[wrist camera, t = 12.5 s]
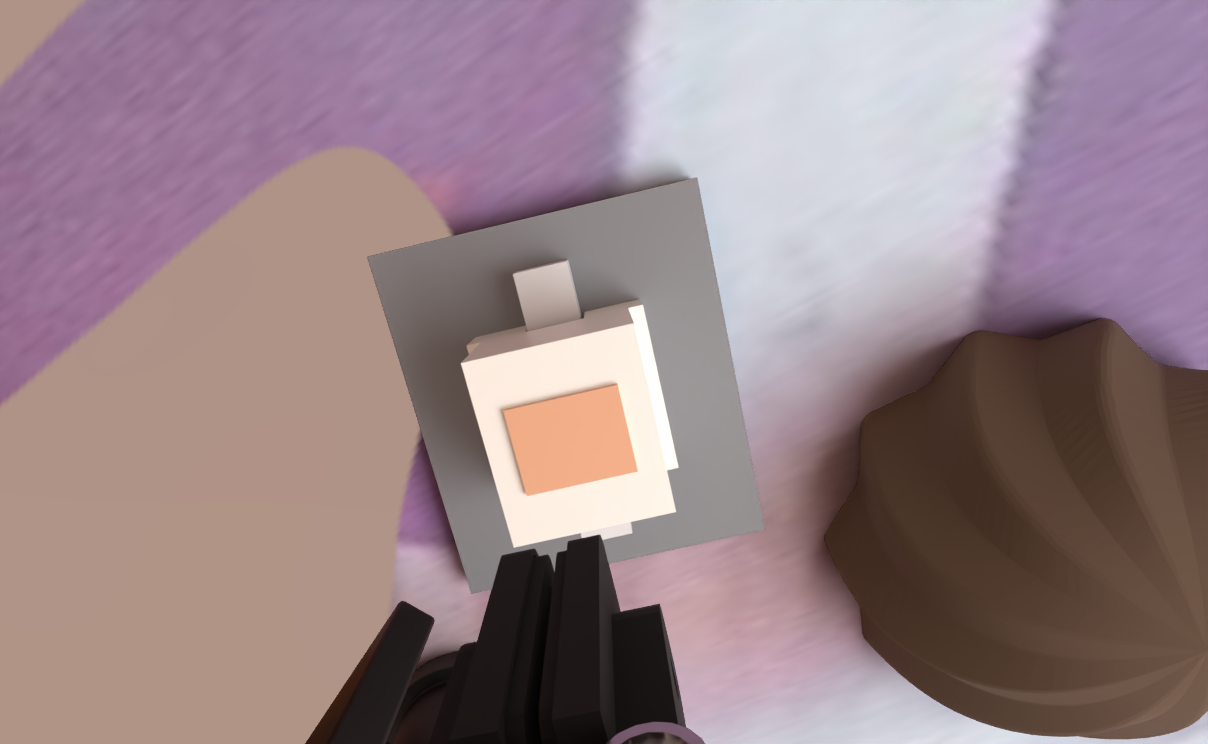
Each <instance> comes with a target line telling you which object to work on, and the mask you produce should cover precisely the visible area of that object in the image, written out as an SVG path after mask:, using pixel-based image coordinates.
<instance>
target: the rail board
mask: <svg viewBox="0 0 1208 744" xmlns="http://www.w3.org/2000/svg"><path fill="white" fill-rule="evenodd" d="M368 261H369V264H370V267H371V271H372V274H373V277H374V281H375V284H376V287H377V290H378V293H379V297H380V300H381V303H382V306H383V309H384V313H385V316H386V319H387V323H388V326H389V329H390V332H391V335H392V339H393V342H394V345H395V348H396V351H397V355H398V358H399V361H400V365H401V367H402V371H403V374H404V377H405V381H406V384H407V387H408V390H409V394H410V397H411V400H412V403H413V407H414V410H415V413H416V416H417V419H418V423H419V426H420V429H421V432H422V436H423V439H424V442H425V445H426V449H427V452H428V455H429V458H430V462H431V465H432V468H433V471H434V474H435V478H436V481H437V484H438V487H439V491H440V494H441V497H442V500H443V504H444V507H445V510H446V513H447V516H448V520H449V523H450V526H451V529H452V533H453V536H454V539H455V542H456V546H457V549H458V552H459V555H460V558H461V562H462V565H463V568H464V571H465V575H466V578H467V581H468V584H469V588H470V591H471V594H473V593H477V592H482V591H487V590H491V589H492V587H493V583H494V580H495V576H496V572H497V569H498V565H499V562H500V558H501V556H502V555H505V554H510V553H515V552H519V551H524V550H529V549H534V548H535V549H536V551H537V553H538V555H539V556H542V555H547V554H548V555H549V556H550V559H551V561H552V565H553V568H554V572H555V564H556V555H557V552H561V551H566V550H567V543H568V541H571V540H576V539H581V538H585V537H590V536H595V535H599V534H600V535H601V537H602V540H603V544H604V547H605V551H606V555H607V559H608V563H609V564H610V563H615V562H619V561H624V560H628V559H633V558H637V557H642V556H647V555H651V554H656V553H660V552H665V551H669V550H674V549H679V548H683V547H688V546H692V545H697V544H701V543H706V542H711V541H715V540H720V539H724V538H729V537H733V536H738V535H743V534H747V533H752V532H756V531H761V530H765V527H764V522H763V516H762V511H761V506H760V501H759V496H758V490H757V485H756V480H755V475H754V470H753V465H752V459H751V454H750V449H749V444H748V439H747V433H746V428H745V423H744V418H743V413H742V408H741V402H740V397H739V392H738V387H737V382H736V376H735V371H734V366H733V361H732V356H731V351H730V345H729V340H728V335H727V330H726V325H725V319H724V314H723V309H722V304H721V299H720V294H719V288H718V283H717V278H716V273H715V268H714V262H713V257H712V252H711V247H710V242H709V237H708V231H707V226H706V221H705V216H704V211H703V205H702V200H701V195H700V190H699V185H698V180H697V178H693V179H688V180H684V181H680V182H676V183H672V184H668V185H663V186H659V187H655V188H651V189H647V190H643V191H638V192H634V193H630V194H626V195H622V196H618V197H613V198H609V199H605V200H601V201H597V202H593V203H588V204H584V205H580V206H576V207H572V208H568V209H564V210H559V211H555V212H551V213H547V214H543V215H539V216H534V217H530V218H526V219H522V220H518V221H514V222H509V223H505V224H501V225H497V226H493V227H489V228H484V229H480V230H476V231H472V232H468V233H464V234H459V235H455V236H451V237H447V238H443V239H439V240H435V241H431V242H426V243H422V244H418V245H414V246H410V247H405V248H401V249H397V250H393V251H389V252H385V253H380V254H376V255H372V256H368ZM637 299H640V301H641V302H642V304H643V307H644V312H645V316H646V321H647V325H648V330H649V334H650V339H651V344H652V348H653V353H654V357H655V362H656V366H657V371H658V376H659V380H660V385H661V389H662V394H663V398H664V403H665V407H666V412H667V417H668V421H669V426H670V430H671V435H672V439H673V444H674V449H675V453H676V458H677V462H678V467H679V468H675V469H671V470H667V473H668V477H669V482H670V486H671V491H672V495H673V500H674V504H675V509H676V512H674V513H669V514H665V515H660V516H656V517H651V518H647V519H642V520H638V521H633V522H629V523H624V524H620V525H615V526H610V527H606V528H601V529H597V530H592V531H588V532H583V533H579V534H574V535H570V536H565V537H560V538H556V539H551V540H547V541H542V542H538V543H533V544H529V545H524V546H520V547H515V548H514V547H513V543H512V540H511V536H510V533H509V529H508V526H507V522H506V519H505V515H504V512H503V508H502V505H501V501H500V498H499V494H498V491H497V487H496V484H495V481H494V477H493V474H492V470H491V467H490V463H489V460H488V456H487V453H486V449H485V446H484V442H483V439H482V435H481V432H480V428H479V425H478V421H477V418H476V414H475V411H474V407H473V404H472V400H471V397H470V394H469V390H468V387H467V383H466V380H465V376H464V373H463V369H462V366H461V363H462V361H463V360H464V359H465V358H466V357H467V356H468V355H469V353H468V350H467V345H468V344H469V343H470V342H471V341H472V340H473V339H474V338H475V337H479V336H483V335H487V334H492V333H496V332H500V331H504V330H509V329H513V328H517V327H522V326H526V327H527V331H532V330H536V329H541V328H545V327H549V326H553V325H558V324H562V323H566V322H571V321H575V320H579V319H584V312H586V311H590V310H595V309H599V308H603V307H607V306H612V305H616V304H620V303H625V302H629V301H633V300H637Z"/></svg>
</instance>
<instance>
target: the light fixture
mask: <svg viewBox="0 0 1208 744" xmlns="http://www.w3.org/2000/svg"><path fill="white" fill-rule="evenodd" d="M433 624H434V618H433V617H432V616H430V615H428V614H426V613H424V612H423V611H421V610H419V609H417V608H416V607H414V606H412V605H410V604H409V603H407V602H405V601H401V602H400V603H399V604H398V605H397V607H396V608H395V610H394V611H393V613H392V614H391V616H390V617H389V619H388V620H387V622H386V623H385V625H384V626H383V628H382V629H381V631H380V632H379V634H378V635H377V637H376V639H375V640H374V641H373V643H372V644H371V646H370V647H369V649H368V650H367V652H366V653H365V655H364V657H363V658H362V659H361V661H360V662H359V664H358V665H357V667H356V668H355V670H354V671H353V673H352V675H351V676H350V677H349V679H348V680H347V682H346V683H345V685H344V686H343V688H342V689H341V691H340V692H339V694H338V695H337V697H336V698H335V700H334V701H333V703H332V704H331V706H330V707H329V709H328V710H327V712H326V713H325V715H324V716H323V718H322V719H321V721H320V722H319V724H318V725H317V727H316V728H315V730H314V731H313V733H312V734H311V736H310V737H309V739H308V740H307V742H306V743H305V744H429V742H430V739H431V736H432V733H433V729H434V726H435V723H436V720H437V717H438V714H439V710H440V707H441V704H442V701H443V698H444V695H445V692H446V688H447V685H448V682H449V679H450V676H451V673H452V669H453V666H454V663H455V660H456V657H457V654H458V652H457V653H452V654H448V655H444V656H441V657H439V658H436V659H434V660H432V661H430V662H428V663H427V664H425V665H424V666H422V667H421V668H419V669H418V670H417V671H416V672H415V673H414V671H415V669H416V666H417V664H418V661H419V659H420V657H421V654H422V652H423V649H424V647H425V644H426V642H427V639H428V637H429V634H430V632H431V629H432V627H433ZM387 741H388V742H387Z"/></svg>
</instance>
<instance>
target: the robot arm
mask: <svg viewBox="0 0 1208 744" xmlns="http://www.w3.org/2000/svg"><path fill="white" fill-rule="evenodd" d="M429 744H705V743H704V741H703V740H702V738H700V737H699V736H698V735H696V734H695V733H694V732H692V731H691V730H690V729H688V728H686V725H685V719H684V713H683V707H682V702H681V696H680V691H679V686H678V681H677V676H676V671H675V666H674V662H673V657H672V653H671V648H670V644H669V639H668V635H667V631H666V627H665V622H664V618H663V614H662V610H661V607H660V604H656V605H652V606H647V607H642V608H637V609H632V610H628V611H623V612H621V611H620V607H619V603H618V599H617V595H616V591H615V587H614V583H613V579H612V575H611V571H610V567H609V563H608V559H607V555H606V551H605V547H604V544H603V540H602V537H601V535H600V534H599V535H595V536H590V537H585V538H581V539H576V540H571V541H568V543H567V550H566V551H561V552H557V555H556V564H555V572H554V568H553V565H552V561H551V559H550V556H549V555H548V554H547V555H542V556H539V555H538V553H537V551H536V549H535V548H534V549H529V550H524V551H519V552H515V553H510V554H505V555H502V556H501V558H500V562H499V565H498V569H497V572H496V576H495V580H494V583H493V587H492V590H491V594H490V598H489V601H488V605H487V608H486V612H485V615H484V619H483V623H482V626H481V630H480V633H479V637H478V640H477V642H473V643H468V644H464V645H463V646H461V647H460V649H459V651H458V654H457V657H456V660H455V663H454V666H453V669H452V673H451V676H450V679H449V682H448V685H447V688H446V692H445V695H444V698H443V701H442V704H441V707H440V710H439V714H438V717H437V720H436V723H435V726H434V729H433V733H432V736H431V739H430V742H429Z"/></svg>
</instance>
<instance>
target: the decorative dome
mask: <svg viewBox="0 0 1208 744" xmlns="http://www.w3.org/2000/svg"><path fill="white" fill-rule="evenodd" d="M824 540H825V542H826V545H827V547H828V549H829V551H830V553H831V556H832V558H833V560H834V562H835V564H836V566H837V568H838V570H839V572H840V574H841V576H842V578H843V580H844V581H845V583H846V585H847V586H848V588H849V590H850V591H851V593H852V594H853V596H854V597H855V599H856V600H857V602H858V603H859V605H860V606H861V620H862V633H863V636H864V638H865V639H866V640H867V641H868V643H869V644H870V645H871V646H872V647H873V648H874V649H875V650H876V651H877V652H878V653H879V654H880V655H881V656H882V658H883V659H884V660H885V661H887V662H888V663H889V664H890V665H891V666H892V667H893V668H894V669H895V670H896V671H897V672H898V673H899V674H901V675H902V676H903V677H904V678H906V679H907V680H908V681H909V682H910V683H912V684H913V685H914V686H915V687H917V688H918V689H919V690H921V691H922V692H924V693H925V694H926V695H928V696H930V697H931V698H933V699H934V700H936V701H937V702H939V703H941V704H942V705H944V706H946V707H948V708H950V709H952V710H953V711H955V712H957V713H960V714H962V715H964V716H966V717H969V718H971V719H974V720H976V721H979V722H982V723H985V724H988V725H991V726H994V727H997V728H1001V729H1005V730H1009V731H1014V732H1019V733H1025V734H1031V735H1040V736H1057V737H1069V736H1080V737H1088V738H1099V739H1137V738H1148V737H1155V736H1161V735H1165V734H1169V733H1173V732H1176V731H1179V730H1181V729H1183V728H1186V727H1188V726H1190V725H1192V724H1193V723H1195V722H1196V721H1197V720H1199V719H1200V718H1201V717H1202V716H1203V715H1204V714H1205V713H1206V712H1207V711H1208V370H1196V369H1187V368H1178V367H1172V366H1165V365H1160V364H1158V363H1157V362H1155V361H1154V360H1153V359H1152V358H1151V357H1150V356H1149V355H1148V354H1147V353H1146V352H1144V351H1143V350H1142V349H1141V348H1140V347H1139V346H1138V345H1137V344H1136V343H1135V342H1134V341H1133V340H1132V339H1131V338H1130V337H1129V336H1128V334H1127V333H1126V332H1125V331H1124V330H1123V329H1122V328H1121V327H1120V326H1119V325H1118V324H1117V323H1116V322H1115V321H1113V320H1111V319H1098V320H1096V321H1093V322H1090V323H1087V324H1084V325H1081V326H1078V327H1076V328H1073V329H1070V330H1067V331H1064V332H1061V333H1058V334H1055V335H1053V336H1050V337H1047V338H1044V339H1040V340H1038V339H1032V338H1026V337H1020V336H1014V335H1008V334H1003V333H996V332H990V331H983V330H980V331H975V332H972V333H970V334H969V335H967V336H966V337H965V338H964V339H963V341H962V342H961V343H960V344H959V346H958V347H957V348H956V349H955V351H954V352H953V353H952V354H951V356H950V357H949V358H948V360H947V361H946V362H945V363H944V365H943V366H942V367H941V368H940V370H939V371H938V372H937V373H936V375H935V376H934V377H933V378H932V380H931V381H930V382H929V384H928V385H927V386H925V387H924V388H922V389H920V390H917V391H915V392H913V393H911V394H909V395H907V396H905V397H902V398H900V399H898V400H896V401H894V402H892V403H890V404H888V405H885V406H883V407H881V408H879V409H877V410H875V411H873V412H871V413H869V414H868V415H867V416H866V417H865V418H864V420H863V421H862V424H861V428H860V447H859V471H858V481H857V484H856V486H855V487H854V489H853V491H852V492H851V494H850V495H849V497H848V498H847V500H846V502H845V503H844V505H843V506H842V508H841V509H840V511H839V512H838V514H837V515H836V517H835V519H834V520H833V522H832V523H831V525H830V527H829V528H828V530H827V531H826V533H825V535H824Z"/></svg>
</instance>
